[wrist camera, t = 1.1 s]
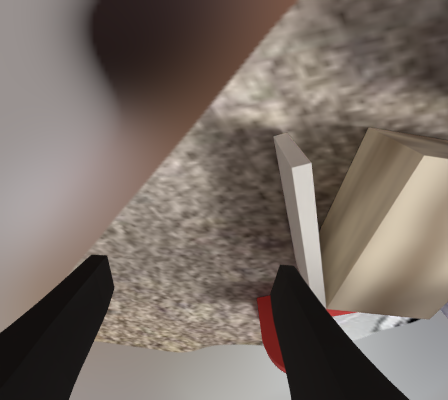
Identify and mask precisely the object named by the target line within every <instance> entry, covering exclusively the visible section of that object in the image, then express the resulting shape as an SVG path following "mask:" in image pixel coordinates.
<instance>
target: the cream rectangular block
mask: <svg viewBox="0 0 448 400" xmlns="http://www.w3.org/2000/svg"><path fill="white" fill-rule="evenodd" d="M319 243H320V253H321V262H322V272H323V282H324V292H325V302H326V309H331V310H341V311H351V312H361V313H371V314H380V315H390V316H400V317H410V318H420V319H430V318H431V317H432V316H434V315H435V314H436V313H437V312H438V311H439V310H440V309H441V308H442V307H443V306H444V305H445V304H446V303H447V302H448V140H442V139H436V138H430V137H424V136H418V135H412V134H406V133H400V132H394V131H388V130H382V129H376V128H370V127H369V128H368V130H367V132H366V134H365V136H364V138H363V140H362V142H361V145H360V147H359V149H358V151H357V153H356V155H355V157H354V159H353V161H352V164H351V166H350V168H349V170H348V172H347V174H346V176H345V178H344V180H343V183H342V185H341V187H340V189H339V191H338V193H337V195H336V197H335V199H334V202H333V204H332V206H331V208H330V210H329V212H328V214H327V216H326V218H325V221H324V223H323V225H322V227H321V229H320V231H319Z"/></svg>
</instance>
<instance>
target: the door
mask: <svg viewBox="0 0 448 400" xmlns="http://www.w3.org/2000/svg"><path fill="white" fill-rule="evenodd" d="M273 138H274V143H275V149H276V154H277V160H278V165H279V171H280V176H281V182H282V187H283V193H284V198H285V204H286V209H287V215H288V220H289V226H290V231H291V237H292V242H293V248H294V253H295V259H296V263H297V266H298V269H299V272H300V275H301V276H302V277H303V279H304V280H305V282H306V283H307V284H308V286H309V287H310V289H311V290H312V291H313V293H314V294H315V295H316V297H317V298H318V299H319V301H320V302H321V303H322V305H323V306H324V307H325V308H326V302H325V292H324V282H323V272H322V262H321V253H320V243H319V233H318V223H317V213H316V203H315V193H314V184H313V174H312V164H311V162H310V161H309V159H308V158H307V157H306V155H305V154H304V153H303V152H302V150H301V149H300V148H299V147H298V145H297V144H296V143H295V142H294V140H293V139H292V138H291V137H290V135H289V134H288V133H284V134H280V135H277V136H273Z"/></svg>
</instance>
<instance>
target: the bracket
mask: <svg viewBox="0 0 448 400" xmlns="http://www.w3.org/2000/svg"><path fill="white" fill-rule="evenodd" d="M257 303H258V311H259V319H260V326H261V334H262V341H263V344H264V347H265V349H266V351H267V354H268V356H269V357H270V359H271V361H272V362H273V363H274V364H275V365H276V366H277V367H278V368H279V369H280V370H281V371H283V372H284V373H286V370H285V366H284V362H283V358H282V354H281V350H280V346H279V342H278V338H277V333H276V329H275V325H274V321H273V314H272V307H271V298H270V296H265V297H259V298H257ZM326 310H327V311H328V312H329V314H330V315H331V316H338V315H344V314H350V313H355V312H351V311H341V310H331V309H326Z"/></svg>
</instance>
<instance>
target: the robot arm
mask: <svg viewBox="0 0 448 400" xmlns="http://www.w3.org/2000/svg"><path fill="white" fill-rule="evenodd" d="M113 291H114V284H113V279H112V275H111V270H110V266H109V262H108V257H107V256H106V255H91V256H89V257H88V258H87V259H86V260H85V261H84V262H83V263H82V264H81V265H79V266H78V267H77V268H76V269H75V270H74V271H73V272H72V273H71V274H70V275H69V276H67V277H66V278H65V279H64V280H63V281H62V282H61V283H60V284H59V285H57V286H56V287H55V288H54V289H53V290H52V291H51V292H49V293H48V294H47V295H46V296H45V297H44V298H43V299H41V300H40V301H39V302H38V303H37V304H36V305H34V306H33V307H32V308H31V309H30V310H29V311H27V312H26V313H25V314H23V315H22V316H21V317H20V318H18V319H17V320H16V321H15V322H14V323H12V324H11V325H10V326H9V327H7V328H6V329H5V330H4V331H2V332H1V333H0V400H69V398H70V395H71V392H72V389H73V387H74V384H75V382H76V380H77V377H78V375H79V372H80V370H81V368H82V366H83V364H84V362H85V359H86V357H87V355H88V353H89V351H90V348H91V346H92V344H93V342H94V340H95V337H96V335H97V333H98V331H99V329H100V326H101V324H102V322H103V320H104V317H105V315H106V313H107V310H108V307H109V304H110V301H111V298H112V294H113ZM270 298H271V307H272V314H273V321H274V325H275V329H276V333H277V338H278V342H279V346H280V350H281V354H282V358H283V362H284V366H285V370H286V374H287V379H288V384H289V388H290V394H291V400H409V399H408V398H407V397H406V396H405V395H404V394H403V393H402V392H401V391H399V390H398V389H397V387H395V386H394V385H393V384H392V383H391V382H390V381H389V380H388V379H387V378H386V377H385V376H384V375H383V374H382V373H381V372H380V371H379V370H378V369H377V368H376V366H375V365H374V364H373V363H372V362H371V361H370V360H369V359H368V358H367V357H366V356H365V355H364V354H363V353H362V352H361V350H360V349H359V348H358V347H357V346H356V345H355V344H354V343H353V341H352V340H351V339H350V338H349V337H348V336H347V334H346V333H345V332H344V331H343V330H342V328H341V327H340V326H339V325H338V324H337V322H336V321H335V320H334V319H333V317H332V316H331V315H330V314H329V312H328V311H327V310H326V308H325V307H324V306H323V305H322V303H321V302H320V301H319V299H318V298H317V297H316V295H315V294H314V293H313V291H312V290H311V289H310V287H309V286H308V284H307V283H306V282H305V280H304V279H303V277H302V276H301V275H300V273H299V272H298V271H297V269H296V268H295V267H294V266H288V265H280V267H279V270H278V273H277V276H276V279H275V282H274V285H273V288H272V291H271V294H270ZM440 310H441V311H442V312H443V313H444V315H445V316H446V317H447V318H448V302H447V303H446V304H445V305H444V306H443V307H442V308H441V309H440Z"/></svg>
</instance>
